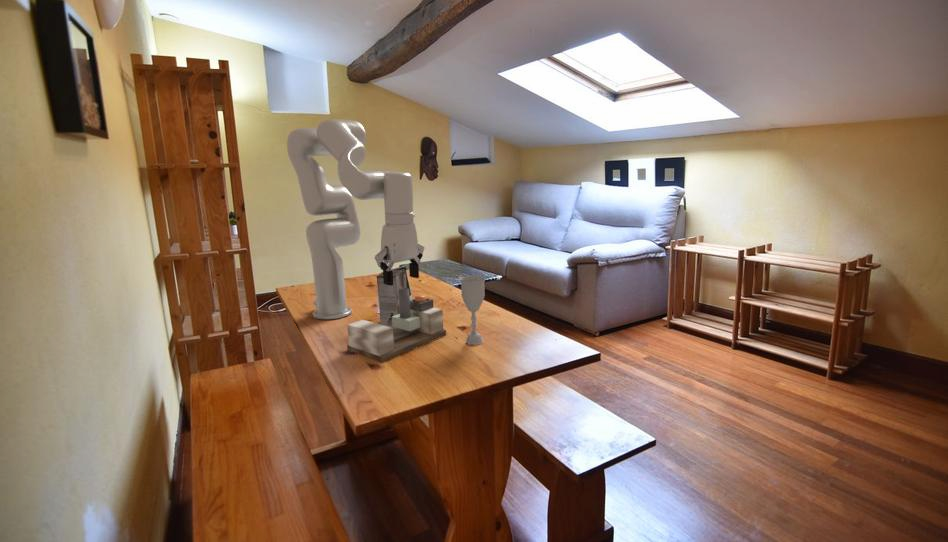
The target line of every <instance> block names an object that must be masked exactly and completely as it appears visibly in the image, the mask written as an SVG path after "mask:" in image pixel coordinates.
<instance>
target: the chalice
mask: <svg viewBox="0 0 948 542" xmlns="http://www.w3.org/2000/svg"><path fill="white" fill-rule="evenodd" d="M458 279H459V281H460V283H461V285H460V288H461V291H460V292H461V297H462V300H463V303H464V304H465V307H466V309H467V310H468V312H471V318H470V319H471V324H470V326H471V328H472V330H471V332H469V333H468V334H467V337H466V340H465V341H466V343H468V344H467V345H469V344H473V345H472V346H478V344H479V345H482V344H484V340H483V337H482V335H481V333H479V332H477V330H476V329H477V326H478V323H476V321H477V316H476V312H478V311H479V310H480V308H481V306H482V304H483V301H484V299H485V296H486V293H485V281H486V279H487V277H486V276H482V275H477V274H476V275H472V274H471V275H464V276H459V278H458Z"/></svg>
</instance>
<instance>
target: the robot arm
mask: <svg viewBox="0 0 948 542" xmlns="http://www.w3.org/2000/svg"><path fill="white" fill-rule="evenodd" d="M286 140H287V141H286V149H287V154H288V158H289V160H290V162H291V165H292V167H293V169H294V171H295V174H296V176H297V180H298V185H299V188H300V189H299V190H300V193H301V198H302V201H303V205H304V208H305V210H306V212H307V214H309V215H310V216H314V217H317V216H318V217H321V216H322V217H323V216H330V215H336V217H334V218H333V217H332V218H324V219H318V220H314V221H312V222H310V223H309V224H308V226H306V229H305V236H306V241H307V244H308V247H309V251H310V256H311V262H312V263H311V265H312V270H313V271H312V272H313V281H314V282H313V283H314V292H315V300H313V302H312V305H313V306H315V310H313V312H312V317H313V318H314V319H316V320H317V319H318V320H335V319H336V320H337V319H340V318H344V317H347V316H349V315H351V314H352V312H353V309H352V307H350V306H349V305H347V293H346V284H345V272H344V262H343V259H342V257H341V255H340V254H339V253H338V252H337V250H336V248H341V247H347V246H351V245H355V244H356V243H358V242H359V240H360V237H361V228H360V223H359V219H358V218H359V217H358V213H357V209H356V204H355V200H354V198H355V199H357V200H360V201H367V200H368V201H369V200H376V199H380V200H381V199H383V201H384V223H385V224H383V225H382V231H381V238H380V251H379V252H378V253H377V254H376V255H374V260H375V262H376V263H377V266H378V267H379V268H380V270H381V271H382V273H383V281H384V284H386V285H390V286H392V285H393V271H390V270H393V269H392V268H393V267H394V266H395V265H394V264H397V263H402V262H406V261H409V265H408V269H409V272H408V273H409V277H411V278H414V279H419V278H420V270H419V269H420V267H419V266H420V264H421V259H422V257H423V254H424V250H425V246H423V245H421V244H419V241H418V233H417V228H416V224H415V222H414V218H415V217H416V214H415V213H414V197H413V196H414V193H413V192H414V191H413V190H414V189H413V177H412V175H411V174H410V173H409V172H404V171H393V170H363V171H362V170H359V168H358V167H359V166H360V165H362V163H363V162H364V160H365V158H366V157H367V155H366V154H367V151H366V147H365V143H366V140H367V134H366V130H365V128H364V126H363V125H362V124H361V123H360V122H359V121H356V120H355V119H354V120H353V119H341V118H339V119H337V118H336V119H335V118H329V119H324V120H323V121H321V122H320V123H319V124H318V125H317V127H300V128H295V129H293V130H291V131H290V132H289V134H288V136H287V139H286ZM317 156H322V157H327V156H328V157H329V156H331V157H334V159H335V160H336V161H337V162H338V163H337V175H338V178H339V179H338V180H339V181H340V183H341V184H329V183H328V182H327V181H328V180H327V177H326V172H325V170H324V168H323V167H322V165H321V164H320V163H319V162H318V161H317V160H316V159H315V158H314V157H317Z"/></svg>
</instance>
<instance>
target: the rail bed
mask: <svg viewBox="0 0 948 542" xmlns="http://www.w3.org/2000/svg"><path fill="white" fill-rule="evenodd" d="M410 310H411V315H413V316H417V317H419V318H420V328H417V329H415V330H412V331H406V330H403V329H399V328H395V327H388V326H384V325H380V323H378V322H377V323H376V322H372V321H369V320H365V319H360V320H356V321H353V322H351V323H348V324H347V334H348V344H347V345H346V346H347V347H346V348H347V351H348V352H350V351H351V353H353V352H355V353H354V354H356V353H357V354H356V355H359V354H360V355H359V356H362V355H363V356H362V357H365V356H366V357H365V358H368V359H371V360H373V359H375V360H374V361H376V360H377V362H379V361H380V363H384V361H385V362H387V361H389V360H391V358H392V359H394V358H396V357H398V355H399V356H401V355H403V354H405V352H406V353H408V352H410V351H412V349H413V350H415V349H416V347H417V348H419V346H420V347H422V346H424V345H426V343H427V344H428V342H429V343H431V342H433V341H436V340H438V339H439V337H440V338H442V336H443V337H445V336H446V335H447V330H446V329H445V328H444V316H443V315H444V314H443V309H442V308H438V307H434V299H431V298H427V297H426V301H425V302H422V303H419V302H415V298H414V299H410ZM444 335H445V336H444ZM437 338H438V339H437ZM435 339H436V340H435ZM432 340H433V341H432ZM430 341H431V342H430ZM423 344H424V345H423ZM421 345H422V346H421ZM414 348H415V349H414Z"/></svg>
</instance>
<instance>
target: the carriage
mask: <svg viewBox="0 0 948 542" xmlns="http://www.w3.org/2000/svg"><path fill="white" fill-rule="evenodd" d="M398 292H399V308H400V314H398V315H395V316H392V327H391V328H399V329H403V330H406V331H412V330H415V329H417V328H420V318H419V317H417V316H413V315H411V310H410V300H411V297H410V288H408V287H407V288H400V289H398Z"/></svg>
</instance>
